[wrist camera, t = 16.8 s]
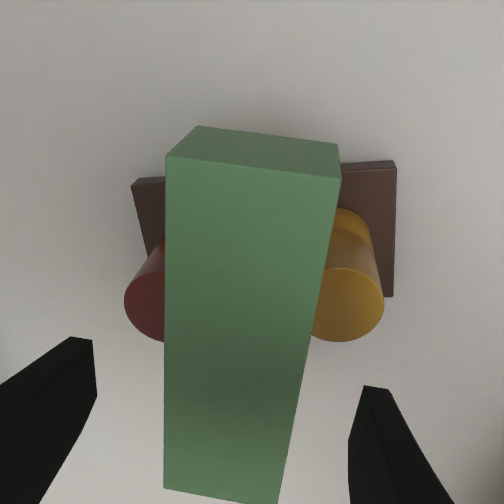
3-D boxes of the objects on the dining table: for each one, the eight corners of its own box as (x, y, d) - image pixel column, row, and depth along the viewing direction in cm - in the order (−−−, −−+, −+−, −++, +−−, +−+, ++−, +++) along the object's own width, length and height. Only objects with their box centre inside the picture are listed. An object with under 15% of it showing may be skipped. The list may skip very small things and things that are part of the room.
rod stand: (164, 291, 23) (118, 374, 18) (137, 177, 21) (74, 236, 15) (390, 286, 21) (412, 376, 16) (393, 159, 19) (421, 219, 13)
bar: (196, 124, 13) (164, 154, 10) (338, 143, 13) (342, 178, 10) (185, 421, 19) (162, 488, 16) (282, 439, 18) (276, 510, 16)
